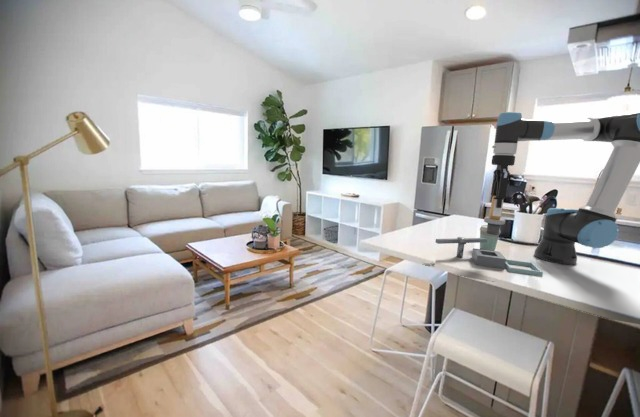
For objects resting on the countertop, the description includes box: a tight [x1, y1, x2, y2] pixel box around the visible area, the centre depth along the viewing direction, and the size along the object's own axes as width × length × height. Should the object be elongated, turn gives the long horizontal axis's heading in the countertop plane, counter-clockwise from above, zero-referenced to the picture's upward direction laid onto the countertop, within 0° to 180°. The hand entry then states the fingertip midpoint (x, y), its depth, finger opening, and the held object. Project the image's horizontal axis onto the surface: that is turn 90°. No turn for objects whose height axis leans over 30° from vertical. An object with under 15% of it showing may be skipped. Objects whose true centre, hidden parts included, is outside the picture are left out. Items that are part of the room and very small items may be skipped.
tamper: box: [483, 196, 506, 236], centre depth 118 cm, size 7×7×15 cm
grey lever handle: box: [435, 236, 487, 259], centre depth 127 cm, size 24×4×9 cm, turn 104°
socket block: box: [471, 247, 507, 270], centre depth 123 cm, size 18×11×5 cm, turn 72°
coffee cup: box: [479, 224, 501, 251], centre depth 140 cm, size 8×9×12 cm
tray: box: [505, 258, 544, 277], centre depth 117 cm, size 11×11×2 cm
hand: (495, 214), depth 118 cm, fingers closed on tamper, 4 cm apart
